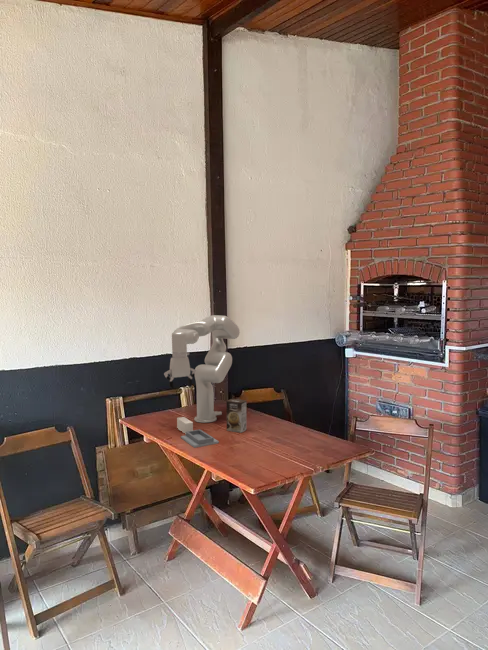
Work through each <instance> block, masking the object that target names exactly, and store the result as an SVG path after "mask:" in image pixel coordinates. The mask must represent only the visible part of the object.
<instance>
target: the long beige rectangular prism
mask: <svg viewBox="0 0 488 650" xmlns="http://www.w3.org/2000/svg"><path fill="white" fill-rule="evenodd" d="M177 428H178V429H177ZM176 429H177V430H179V431H180V432H181V431H182V433H183V434H184V433H185V435H186V432H187V431H193V430H194V422H193V421H191V420H189V419H188V418H187V417H185V416H179V417H176Z"/></svg>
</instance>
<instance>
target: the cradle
mask: <svg viewBox="0 0 488 650" xmlns="http://www.w3.org/2000/svg"><path fill="white" fill-rule="evenodd" d="M180 439H182V440H183V441H184V442H185V443H187V444H189V445H190V446H191V447H193V448H195V449H196V448H201V447H207V446H211V445H216V444H219V443H220V441H219V440H218V439H216V438H214V437H213V436H211V435H210V434H208V433H207V432H205V431H204V430H202V429H193V431H187V432H186V434H185V435H181V436H180Z"/></svg>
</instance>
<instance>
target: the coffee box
mask: <svg viewBox="0 0 488 650" xmlns="http://www.w3.org/2000/svg"><path fill="white" fill-rule="evenodd" d="M246 430H247V399H246V400H244V399H240V398H239V399H238V398H237V399H236V398H230V399H228V400H226V431H228V432H234V433H239V434H240V433H243V432H245V431H246Z"/></svg>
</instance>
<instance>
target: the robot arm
mask: <svg viewBox="0 0 488 650" xmlns="http://www.w3.org/2000/svg"><path fill="white" fill-rule="evenodd" d="M210 333H211V337H212V344H211V347H210V349H209V350H208V351H207V354H206V355H205V358H204V363H205V364H198V365H197V366H196V367H195V369H194V368H192V367H191V365H190V364H191V363H190V359H189V355H190V352H189V351H187V350H188V348H187V346H188V345H194V344H196V343H197V342H198V341H199V338H200V337H204V336H207V335H209V334H210ZM240 333H241V332H240V327H239V326H238V324H236V323H235V321H233V320H232V319H231V318H230V317H228V316H226V315H217V314H216V315H215V314H212V315H209V316H207V317H205V318H203V319H201V320H199V321H195V322H192V323H191V322H190V323H188V324H183V325H181V326H179V327H177V328H176V329H174V330H173V332H172V333H171V346H172V347H171V348H172V349H171V351H172V353H171V355H172V357H170V362H169V370H167V371H165V372H164V373H163V375H164V377H165V378H166V380H168V383H169V385H168V387H169V388H170V389H172V390H173V389H174V381H173V380H174V379H175V378H183V377H188V378H187V386H188V387H189V388H191V387H192V384H193V382H192V381H193V378H194V379H195V386H196V416H195V417H194V419H193V420H194V422H197V423H201V424H202V423H203V424H204V423H205V424H206V423H213V422H216V421H217V418H218V417H217V416H222V415H223V414H222V413H223V412H222V411H218V410H216V411H215V410H214V409H215V407H214V403H215V402H214V400H215V398H214V397H215V396H214V386H213V383H214V384H219V383H220V384H221V382H223V381H224V380H225V377H226V376H227V374H228V372H229V370H230V369H231V367H232V364H233V356H232V354H231V353H230V352H228V351H227V346H226V343H225V342H224V339H227V340H235V339H236V340H237V339H238V337H239V336H240ZM169 375H170V376H169Z"/></svg>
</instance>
